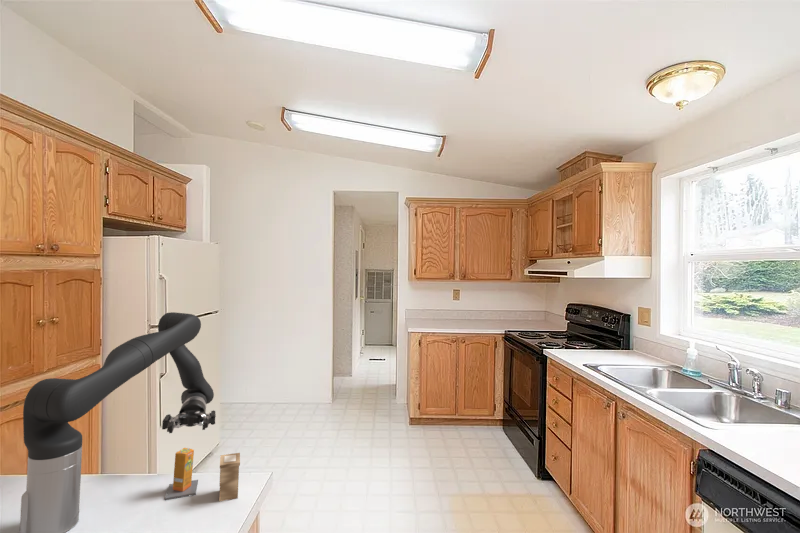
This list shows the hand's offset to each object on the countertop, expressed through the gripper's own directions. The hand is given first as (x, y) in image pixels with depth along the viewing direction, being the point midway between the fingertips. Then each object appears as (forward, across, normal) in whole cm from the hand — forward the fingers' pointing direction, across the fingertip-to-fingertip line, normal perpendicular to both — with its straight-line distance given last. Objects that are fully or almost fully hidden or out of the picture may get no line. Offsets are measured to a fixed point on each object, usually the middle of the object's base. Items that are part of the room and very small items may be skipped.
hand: (187, 428), depth 113 cm
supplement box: (+10, 0, +13) cm, 16 cm away
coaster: (+10, 0, +13) cm, 16 cm away
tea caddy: (+16, +12, +13) cm, 24 cm away
